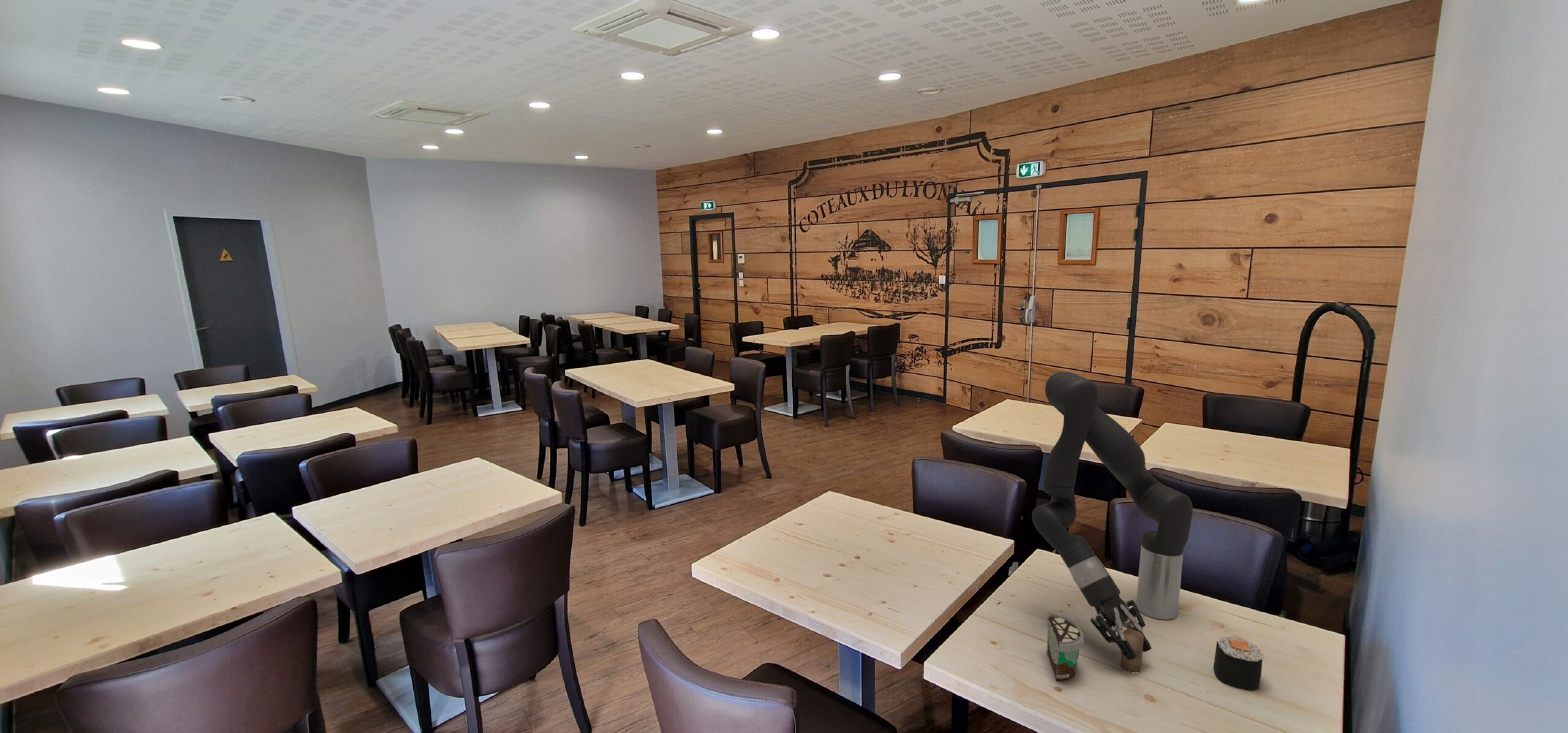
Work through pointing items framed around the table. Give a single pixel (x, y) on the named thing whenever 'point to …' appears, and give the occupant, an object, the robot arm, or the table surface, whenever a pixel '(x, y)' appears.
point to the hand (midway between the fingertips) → (1140, 654)
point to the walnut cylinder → (1137, 645)
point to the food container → (1063, 646)
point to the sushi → (1238, 663)
